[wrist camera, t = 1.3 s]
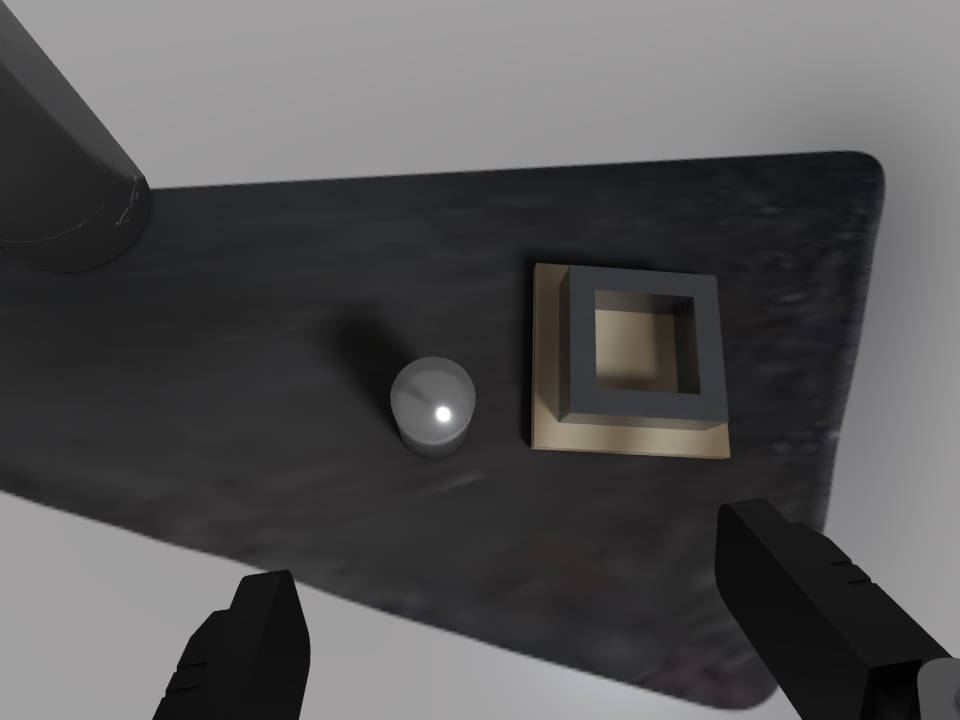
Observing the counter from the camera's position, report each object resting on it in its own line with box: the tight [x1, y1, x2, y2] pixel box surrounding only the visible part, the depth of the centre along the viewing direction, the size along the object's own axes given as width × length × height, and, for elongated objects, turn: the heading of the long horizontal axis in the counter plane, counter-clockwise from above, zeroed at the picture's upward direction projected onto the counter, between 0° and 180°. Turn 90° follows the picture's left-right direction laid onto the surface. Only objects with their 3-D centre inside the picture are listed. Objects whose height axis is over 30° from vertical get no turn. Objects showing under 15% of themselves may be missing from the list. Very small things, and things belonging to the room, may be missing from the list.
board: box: [531, 263, 730, 459], centre depth 36 cm, size 12×12×1 cm
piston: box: [391, 357, 475, 460], centre depth 30 cm, size 4×4×8 cm
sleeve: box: [559, 265, 729, 431], centre depth 34 cm, size 9×9×3 cm
